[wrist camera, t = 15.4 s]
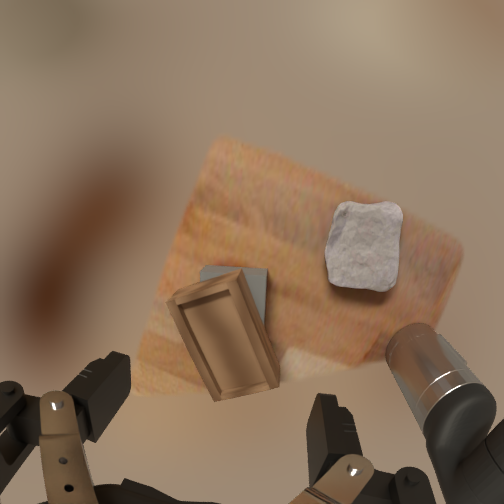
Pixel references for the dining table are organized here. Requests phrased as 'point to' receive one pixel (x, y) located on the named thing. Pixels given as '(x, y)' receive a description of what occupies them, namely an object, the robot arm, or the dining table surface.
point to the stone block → (364, 245)
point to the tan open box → (225, 336)
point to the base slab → (253, 277)
